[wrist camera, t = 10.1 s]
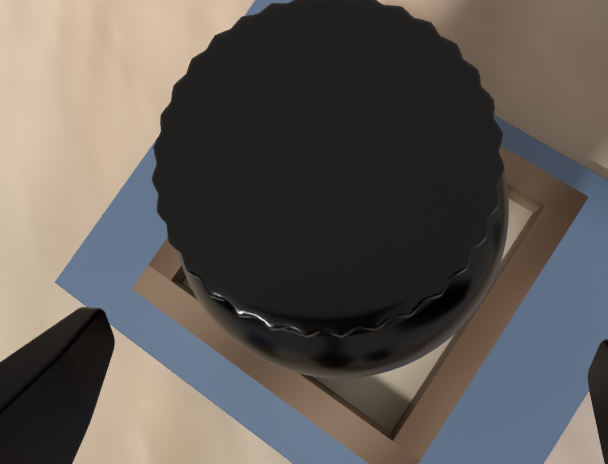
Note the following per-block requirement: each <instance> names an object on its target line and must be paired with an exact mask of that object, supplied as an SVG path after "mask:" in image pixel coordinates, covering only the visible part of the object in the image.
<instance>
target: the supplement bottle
mask: <svg viewBox="0 0 608 464" xmlns="http://www.w3.org/2000/svg"><path fill="white" fill-rule="evenodd" d="M494 109H495V107H494V100H493V98H492V97H491V96H490V95H489V93H488V92H486V91H485V90H484V89H483V88H482V87H481V83H480V75H479V72H478V70H477V69H476V68H475V67H474V66H472V65H471V64H470V63H468V62H467V61H465V60H464V59H463V57H462V54H461V52H460V50H459V48H458V46H457V44H456V43H454V42H452V41H450V40H448V39H446V38H444V37H441V36H440V35H439V34H438V32H437V30H436V28H435V27H434V26H433V25H432V23H431V22H428V21H425V20H421V19H417V18H413V17H412V16H411V15H410V14H409V13H408V12H407V11H406V10H405V9H404V8H403V7H401V6H391V5H383V4H381V3H379V2H378V1H377V0H293V1H291V2H289V3H271V4H270V5H269V6H267V7H266V8H264V9H263V10H262V11H261V12H259V13H258V14H254V15H247V16H243V17H241V18H240V19H239V20H238V21H237V22H236V23H235V25H234V26H233V27H232V28H231V29H230V30H227V31H224V32H222V33H220V34H217V35H215V36H214V38H213V39H212V41H211V42H210V44H209V46H208V48H207V49H206V50H205V51H204V52H202V53H200V54H198V55H197V56H195V57H194V58H192V60H191V62H190V65H189V67H188V70H187V74H186V75H185V76H183V77H182V78H181V79H180V80H179V81H178V82H177V83H176V84H175V85H174V87H173V91H172V98H171V102H170V104H169V105H168V106H167V107H166V108H165V110H164V111H163V113H162V114H161V121H160V124H161V133H160V135H159V137H158V138H157V139H156V142H155V144H154V146H153V149H154V155H155V159H156V162H157V163H156V167H155V169H154V171H153V175H152V182H153V185H154V187H155V189H156V191H157V193H158V199H157V213H158V215H159V216H160V218H161V219H162V220H163V221H164V222H165V223H166V225H167V236H168V242H169V244H170V245H171V246H172V247H173V248H174V249H175V250H177V251H178V254H179V258H180V261H181V264H182V267H183V270H184V273H185V275H186V278H187V280H188V282H189V285H190V287H191V289H192V290H193V292H194V294H195V296H196V298H197V299H198V301H199V302H200V304H201V305H202V307H203V308H204V310H205V311H206V313H207V314H208V315H209V316H210V318H211V319H212V320H213V321H214V322H215V323H216V325H217V326H218V327H219V328H220V329H221V330H222V331H223V332H224V333H225V334H226V335H227V336H229V337H230V338H231V339H232V340H233V341H235V342H236V343H237V344H238V345H240V346H241V347H242V348H244V349H245V350H247V351H248V352H250V353H251V354H253V355H255V356H256V357H258V358H260V359H262V360H264V361H266V362H268V363H270V364H272V365H275V366H277V367H280V368H282V369H285V370H288V371H292V372H295V373H299V374H303V375H308V376H314V377H320V378H335V379H342V378H358V377H365V376H372V375H376V374H380V373H385V372H389V371H391V370H394V369H397V368H400V367H403V366H405V365H407V364H410V363H412V362H414V361H416V360H418V359H420V358H422V357H423V356H425V355H427V354H428V353H430V352H432V351H433V350H435V349H436V348H438V347H439V346H440V345H442V344H443V343H444V342H446V341H447V340H448V339H450V338H451V337H452V336H453V335H454V334H455V333H456V332H457V331H458V330H459V329H460V328H461V327H462V326H463V325H464V324H465V323H466V322H467V321H468V319H469V318H470V317H471V316H472V315H473V314H474V312H475V311H476V309H477V308H478V307H479V305H480V304H481V302H482V301H483V300H484V298H485V296H486V294H487V292H488V291H489V289H490V287H491V285H492V283H493V281H494V278H495V276H496V274H497V271H498V269H499V266H500V263H501V260H502V256H503V253H504V248H505V244H506V239H507V231H508V221H509V201H508V191H507V184H506V179H505V174H504V171H505V167H504V164H503V160H502V158H501V156H500V153H499V149H500V146H501V143H502V138H503V132H502V130H501V128H500V126H499V125H498V124H497V122H496V121H495V119H494Z"/></svg>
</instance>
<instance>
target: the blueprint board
mask: <svg viewBox="0 0 608 464" xmlns="http://www.w3.org/2000/svg"><path fill="white" fill-rule="evenodd" d="M291 1H292V0H255V2H254V3H253V5H252V6H251V7H250V9H249V10H248V12H247V13H246V14H245V16H247V15H254V14H258V13H259V12H261V11H262V10H263V9H264V8H266V7H267V6H269V5H270V4H271V3H289V2H291ZM494 119H495V121H496V122H497V124H498V125H499V126H500V128H501V130H502V132H503V138H502V143H501V146H502V147H504V148H506V149H507V150H509V151H511V152H512V153H514V154H516V155H518V156H519V157H521V158H523V159H525V160H526V161H528V162H530V163H531V164H533V165H535V166H537V167H538V168H540V169H542V170H543V171H545V172H547V173H549V174H550V175H552V176H554V177H556V178H557V179H559V180H561V181H562V182H564V183H566V184H568V185H569V186H571V187H573V188H575V189H576V190H578V191H580V192H581V193H583V194H585V195H587V196H588V197H589V198H588V199H587V201H586V202H585V204H584V205H583V207H582V209H581V210H580V212H579V213H578V215H577V216H576V218H575V220H574V221H573V223H572V224H571V226H570V227H569V229H568V230H567V232H566V234H565V235H564V237H563V238H562V240H561V241H560V243H559V245H558V246H557V248H556V249H555V251H554V252H553V254H552V256H551V257H550V259H549V260H548V262H547V263H546V265H545V267H544V268H543V270H542V271H541V273H540V274H539V276H538V277H537V279H536V281H535V282H534V284H533V285H532V287H531V288H530V290H529V292H528V293H527V295H526V296H525V298H524V299H523V301H522V303H521V304H520V306H519V307H518V309H517V310H516V312H515V313H514V315H513V317H512V318H511V320H510V321H509V323H508V324H507V326H506V328H505V329H504V331H503V332H502V334H501V335H500V337H499V339H498V340H497V342H496V343H495V345H494V346H493V348H492V350H491V351H490V353H489V354H488V356H487V357H486V359H485V360H484V362H483V364H482V365H481V367H480V368H479V370H478V371H477V373H476V375H475V376H474V378H473V379H472V381H471V382H470V384H469V386H468V387H467V389H466V390H465V392H464V393H463V395H462V396H461V398H460V400H459V401H458V403H457V404H456V406H455V407H454V409H453V411H452V412H451V414H450V415H449V417H448V418H447V420H446V422H445V423H444V425H443V426H442V428H441V429H440V431H439V433H438V434H437V436H436V437H435V439H434V440H433V442H432V443H431V445H430V447H429V448H428V450H427V451H426V453H425V454H424V456H423V458H422V459H421V461H420V462H419V464H544V462H545V461H546V459H547V457H548V456H549V454H550V452H551V451H552V449H553V448H554V446H555V444H556V443H557V441H558V440H559V438H560V436H561V435H562V433H563V431H564V430H565V428H566V427H567V425H568V423H569V422H570V420H571V419H572V417H573V415H574V414H575V412H576V411H577V409H578V407H579V406H580V404H581V402H582V401H583V399H584V398H585V396H586V394H587V393H588V391H589V386H588V370H589V368H590V365H591V363H592V361H593V358H594V356H595V354H596V351H597V349H598V347H599V345H600V343H601V342H602V341H603V340H605V339H608V180H607V179H605V178H603V177H601V176H600V175H598V174H596V173H594V172H593V171H591V170H589V169H587V168H586V167H584V166H582V165H580V164H579V163H577V162H575V161H573V160H572V159H570V158H568V157H566V156H565V155H563V154H561V153H559V152H558V151H556V150H554V149H552V148H550V147H549V146H547V145H545V144H543V143H542V142H540V141H538V140H536V139H535V138H533V137H531V136H529V135H528V134H526V133H524V132H522V131H521V130H519V129H517V128H515V127H514V126H512V125H510V124H508V123H507V122H505V121H503V120H501V119H500V118H498V117H496V116H494ZM155 142H156V141H155ZM155 142H154V144H155ZM154 144H153V145H152V147H151V148H150V149H149V151H148V152H147V154H146V155H145V156H144V158H143V159H142V161H141V162H140V163H139V165H138V166H137V168H136V169H135V170H134V172H133V173H132V175H131V176H130V177H129V179H128V180H127V182H126V183H125V184H124V186H123V187H122V189H121V190H120V191H119V193H118V194H117V196H116V197H115V198H114V200H113V201H112V203H111V204H110V206H109V207H108V208H107V210H106V211H105V213H104V214H103V215H102V217H101V218H100V220H99V221H98V222H97V224H96V225H95V227H94V228H93V229H92V231H91V232H90V234H89V235H88V236H87V238H86V239H85V241H84V242H83V243H82V245H81V246H80V248H79V249H78V250H77V252H76V253H75V255H74V256H73V257H72V259H71V260H70V262H69V263H68V265H67V266H66V267H65V269H64V270H63V272H62V273H61V274H60V276H59V277H58V279H57V280H56V281H55V283H56V284H58V285H59V286H60V287H62V288H63V289H64V290H66V291H67V292H68V293H70V294H71V295H72V296H73V297H75V298H76V299H77V300H79V301H80V302H81V303H83V304H84V305H85V306H87V307H94V308H101V309H103V310H104V311H105V313H106V316H107V318H108V321H109V324H110V325H112V326H113V327H114V328H116V329H117V330H118V331H119V332H121V333H122V334H123V335H125V336H126V337H127V338H129V339H130V340H131V341H133V342H134V343H135V344H137V345H138V346H139V347H141V348H142V349H143V350H144V351H146V352H147V353H148V354H150V355H151V356H152V357H154V358H155V359H156V360H158V361H159V362H160V363H162V364H163V365H164V366H166V367H167V368H168V369H169V370H171V371H172V372H173V373H175V374H176V375H177V376H179V377H180V378H181V379H183V380H184V381H185V382H187V383H188V384H189V385H191V386H192V387H193V388H194V389H196V390H197V391H198V392H200V393H201V394H202V395H204V396H205V397H206V398H208V399H209V400H210V401H212V402H213V403H214V404H216V405H217V406H218V407H219V408H221V409H222V410H223V411H225V412H226V413H227V414H229V415H230V416H231V417H233V418H234V419H235V420H237V421H238V422H239V423H240V424H242V425H243V426H244V427H246V428H247V429H248V430H250V431H251V432H252V433H254V434H255V435H256V436H258V437H259V438H260V439H262V440H263V441H264V442H265V443H267V444H268V445H269V446H271V447H272V448H273V449H275V450H276V451H277V452H279V453H280V454H281V455H283V456H284V457H285V458H287V459H288V460H289V461H290V462H292V463H293V464H368V463H367V462H366V461H364V460H363V459H362V458H360V457H359V456H358V455H356V454H355V453H353V452H352V451H351V450H349V449H348V448H347V447H345V446H344V445H343V444H341V443H340V442H339V441H337V440H336V439H335V438H333V437H332V436H330V435H329V434H328V433H326V432H325V431H324V430H322V429H321V428H320V427H318V426H317V425H316V424H314V423H313V422H311V421H310V420H309V419H307V418H306V417H305V416H303V415H302V414H301V413H299V412H298V411H297V410H295V409H294V408H292V407H291V406H290V405H288V404H287V403H286V402H284V401H283V400H282V399H280V398H279V397H278V396H276V395H275V394H273V393H272V392H271V391H269V390H268V389H267V388H265V387H264V386H263V385H261V384H260V383H259V382H257V381H256V380H254V379H253V378H252V377H250V376H249V375H248V374H246V373H245V372H244V371H242V370H241V369H240V368H238V367H237V366H236V365H234V364H233V363H231V362H230V361H229V360H227V359H226V358H225V357H223V356H222V355H221V354H219V353H218V352H217V351H215V350H214V349H212V348H211V347H210V346H208V345H207V344H206V343H204V342H203V341H202V340H200V339H199V338H198V337H196V336H195V335H193V334H192V333H191V332H189V331H188V330H187V329H185V328H184V327H183V326H181V325H180V324H179V323H177V322H176V321H174V320H173V319H172V318H170V317H169V316H168V315H166V314H165V313H164V312H162V311H161V310H160V309H158V308H157V307H155V306H154V305H153V304H151V303H150V302H149V301H147V300H146V299H145V298H143V297H142V296H141V295H139V294H138V293H137V292H135V291H134V290H132V287H133V286H134V284H135V283H136V282H137V280H138V279H139V277H140V276H141V274H142V273H143V272H144V270H145V269H146V267H147V266H148V264H149V263H150V262H151V260H152V259H153V257H154V256H155V254H156V253H157V252H158V250H159V249H160V247H161V246H162V244H163V243H164V242H165V240H166V239H167V237H168V236H167V225H166V223H165V222H164V221H163V220H162V219H161V218H160V216H159V215H158V213H157V199H158V193H157V191H156V189H155V187H154V185H153V182H152V175H153V171H154V169H155V167H156V163H157V162H156V159H155V155H154V149H153V146H154Z"/></svg>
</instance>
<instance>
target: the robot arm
mask: <svg viewBox="0 0 608 464" xmlns="http://www.w3.org/2000/svg"><path fill="white" fill-rule="evenodd" d="M114 345H115V340H114V335H113V332H112V330H111V327H110V324H109V321H108V318H107V316H106V313H105V311H104V310H103V309H101V308H94V307H81V308H79V309H77V310H76V311H74V312H73V313H71V314H70V315H68V316H67V317H65V318H64V319H62V320H61V321H60V322H58V323H57V324H55V325H54V326H52V327H51V328H49V329H48V330H46V331H45V332H43V333H42V334H41V335H39V336H38V337H36V338H35V339H33V340H32V341H30V342H29V343H27V344H26V345H25V346H23V347H22V348H20V349H19V350H17V351H16V352H14V353H13V354H11V355H10V356H8V357H7V358H6V359H4V360H3V361H1V362H0V464H72V463H73V461H74V458H75V456H76V454H77V452H78V449H79V447H80V445H81V442H82V440H83V438H84V436H85V433H86V431H87V429H88V426H89V424H90V421H91V418H92V416H93V413H94V410H95V407H96V404H97V400H98V397H99V394H100V391H101V388H102V385H103V382H104V379H105V375H106V372H107V369H108V366H109V363H110V360H111V357H112V354H113V350H114ZM588 386H589V391H590V396H591V401H592V406H593V410H594V415H595V420H596V425H597V430H598V435H599V439H600V444H601V449H602V454H603V458H604V462H605V464H608V339H605V340H603V341H602V342H601V343H600V345H599V347H598V349H597V351H596V354H595V356H594V358H593V361H592V363H591V365H590V368H589V370H588Z"/></svg>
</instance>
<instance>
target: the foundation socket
mask: <svg viewBox="0 0 608 464" xmlns="http://www.w3.org/2000/svg"><path fill="white" fill-rule="evenodd" d="M499 153H500V156H501V158H502V160H503V164H504V167H505V171H504V174H505V179H506V184H507V191H508V201H509V221H508V231H507V239H506V244H505V248H504V253H503V256H502V260H501V263H500V266H499V269H498V271H497V274H496V276H495V278H494V281H493V283H492V285H491V287H490V289H489V291H488V292H487V294H486V296H485V298H484V300H483V301H482V302H481V304H480V305H479V307H478V308H477V309H476V311H475V312H474V314H473V315H472V316H471V317H470V318H469V319H468V321H467V322H466V323H465V324H464V325H463V326H462V327H461V328H460V329H459V330H458V331H457V332H456V333H455V334H454V335H453V336H452V337H451V338H450V339H448V340H447V341H446V342H444V343H443V344H442V345H440V346H439V347H438V348H436V349H435V350H433V351H432V352H430V353H428V354H427V355H425V356H423V357H422V358H420V359H418V360H416V361H414V362H412V363H410V364H407V365H405V366H403V367H400V368H397V369H394V370H391V371H389V372H385V373H380V374H376V375H372V376H365V377H358V378H342V379H335V378H320V377H314V376H308V375H303V374H299V373H295V372H292V371H288V370H285V369H282V368H280V367H277V366H275V365H272V364H270V363H268V362H266V361H264V360H262V359H260V358H258V357H256V356H255V355H253V354H251V353H250V352H248V351H247V350H245V349H244V348H242V347H241V346H240V345H238V344H237V343H236V342H235V341H233V340H232V339H231V338H230V337H229V336H227V335H226V334H225V333H224V332H223V331H222V330H221V329H220V328H219V327H218V326H217V325H216V323H215V322H214V321H213V320H212V319H211V318H210V316H209V315H208V314H207V313H206V311H205V310H204V308H203V307H202V305H201V304H200V302H199V301H198V299H197V298H196V296H195V294H194V292H193V290H192V289H191V287H190V285H189V282H188V280H187V278H186V275H185V273H184V270H183V267H182V264H181V261H180V258H179V254H178V251H177V250H175V249H174V248H173V247H172V246H171V245H170V244H169V242H168V237H167V239H166V240H165V242H164V243H163V244H162V246H161V247H160V249H159V250H158V252H157V253H156V254H155V256H154V257H153V259H152V260H151V262H150V263H149V264H148V266H147V267H146V269H145V270H144V272H143V273H142V274H141V276H140V277H139V279H138V280H137V282H136V283H135V284H134V286H133V287H132V290H134V291H135V292H137V293H138V294H139V295H141V296H142V297H143V298H145V299H146V300H147V301H149V302H150V303H151V304H153V305H154V306H155V307H157V308H158V309H160V310H161V311H162V312H164V313H165V314H166V315H168V316H169V317H170V318H172V319H173V320H174V321H176V322H177V323H179V324H180V325H181V326H183V327H184V328H185V329H187V330H188V331H189V332H191V333H192V334H193V335H195V336H196V337H198V338H199V339H200V340H202V341H203V342H204V343H206V344H207V345H208V346H210V347H211V348H212V349H214V350H215V351H217V352H218V353H219V354H221V355H222V356H223V357H225V358H226V359H227V360H229V361H230V362H231V363H233V364H234V365H236V366H237V367H238V368H240V369H241V370H242V371H244V372H245V373H246V374H248V375H249V376H250V377H252V378H253V379H254V380H256V381H257V382H259V383H260V384H261V385H263V386H264V387H265V388H267V389H268V390H269V391H271V392H272V393H273V394H275V395H276V396H278V397H279V398H280V399H282V400H283V401H284V402H286V403H287V404H288V405H290V406H291V407H292V408H294V409H295V410H297V411H298V412H299V413H301V414H302V415H303V416H305V417H306V418H307V419H309V420H310V421H311V422H313V423H314V424H316V425H317V426H318V427H320V428H321V429H322V430H324V431H325V432H326V433H328V434H329V435H330V436H332V437H333V438H335V439H336V440H337V441H339V442H340V443H341V444H343V445H344V446H345V447H347V448H348V449H349V450H351V451H352V452H353V453H355V454H356V455H358V456H359V457H360V458H362V459H363V460H364V461H366V462H367V463H368V464H419V462H420V461H421V459H422V458H423V456H424V454H425V453H426V451H427V450H428V448H429V447H430V445H431V443H432V442H433V440H434V439H435V437H436V436H437V434H438V433H439V431H440V429H441V428H442V426H443V425H444V423H445V422H446V420H447V418H448V417H449V415H450V414H451V412H452V411H453V409H454V407H455V406H456V404H457V403H458V401H459V400H460V398H461V396H462V395H463V393H464V392H465V390H466V389H467V387H468V386H469V384H470V382H471V381H472V379H473V378H474V376H475V375H476V373H477V371H478V370H479V368H480V367H481V365H482V364H483V362H484V360H485V359H486V357H487V356H488V354H489V353H490V351H491V350H492V348H493V346H494V345H495V343H496V342H497V340H498V339H499V337H500V335H501V334H502V332H503V331H504V329H505V328H506V326H507V324H508V323H509V321H510V320H511V318H512V317H513V315H514V313H515V312H516V310H517V309H518V307H519V306H520V304H521V303H522V301H523V299H524V298H525V296H526V295H527V293H528V292H529V290H530V288H531V287H532V285H533V284H534V282H535V281H536V279H537V277H538V276H539V274H540V273H541V271H542V270H543V268H544V267H545V265H546V263H547V262H548V260H549V259H550V257H551V256H552V254H553V252H554V251H555V249H556V248H557V246H558V245H559V243H560V241H561V240H562V238H563V237H564V235H565V234H566V232H567V230H568V229H569V227H570V226H571V224H572V223H573V221H574V220H575V218H576V216H577V215H578V213H579V212H580V210H581V209H582V207H583V205H584V204H585V202H586V201H587V199H588V198H589V197H588V196H587V195H585V194H583V193H581V192H580V191H578V190H576V189H575V188H573V187H571V186H569V185H568V184H566V183H564V182H562V181H561V180H559V179H557V178H556V177H554V176H552V175H550V174H549V173H547V172H545V171H543V170H542V169H540V168H538V167H537V166H535V165H533V164H531V163H530V162H528V161H526V160H525V159H523V158H521V157H519V156H518V155H516V154H514V153H512V152H511V151H509V150H507V149H506V148H504V147H502V146H500V149H499Z"/></svg>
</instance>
